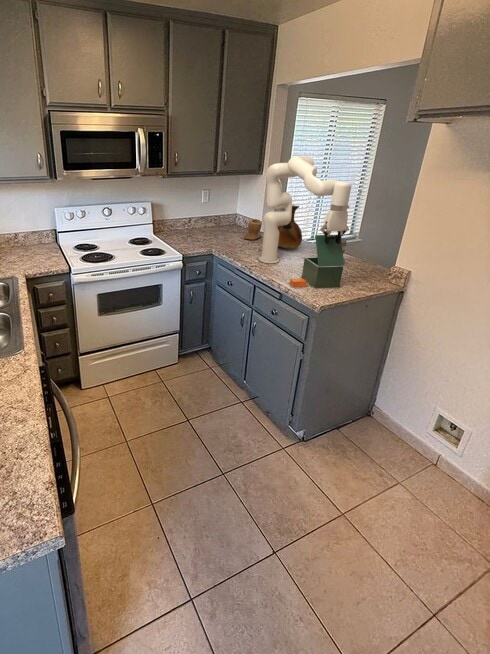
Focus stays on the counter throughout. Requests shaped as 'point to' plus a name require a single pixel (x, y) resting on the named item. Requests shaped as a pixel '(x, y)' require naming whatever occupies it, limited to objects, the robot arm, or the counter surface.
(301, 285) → the block
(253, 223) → the stone cup
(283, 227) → the ceramic pitcher
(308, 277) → the green open box
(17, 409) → the counter surface
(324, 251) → the hinged box lid
